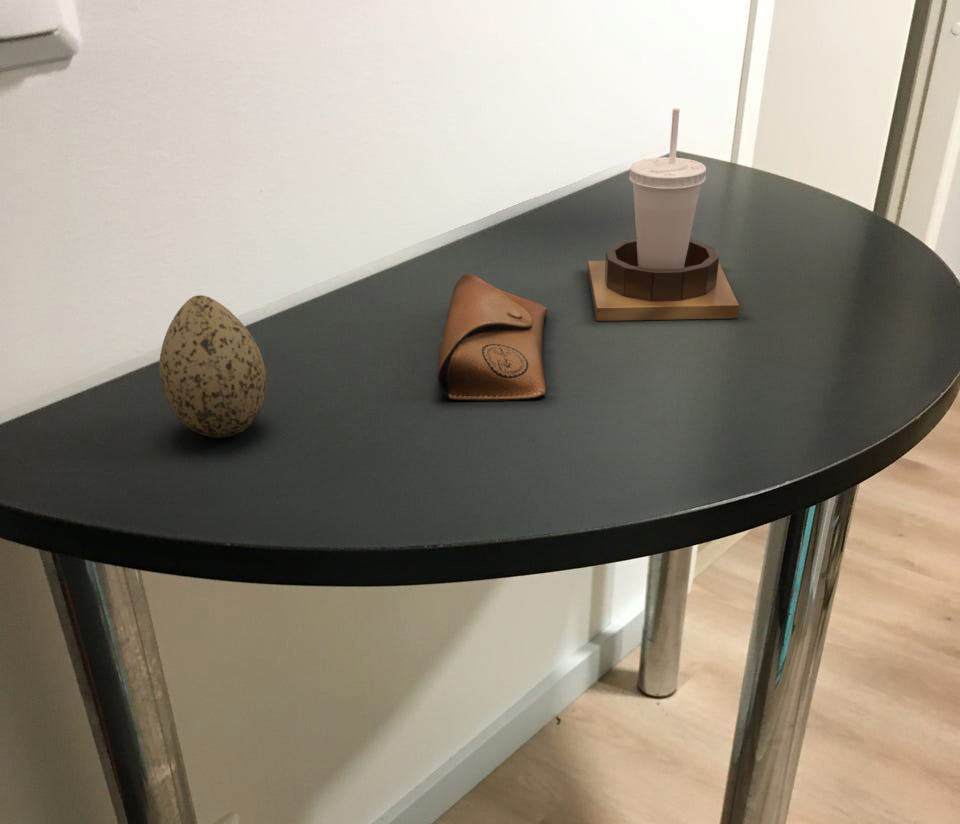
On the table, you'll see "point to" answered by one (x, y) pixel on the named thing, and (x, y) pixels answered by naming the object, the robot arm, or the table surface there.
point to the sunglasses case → (491, 345)
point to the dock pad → (660, 286)
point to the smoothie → (665, 205)
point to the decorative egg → (212, 370)
